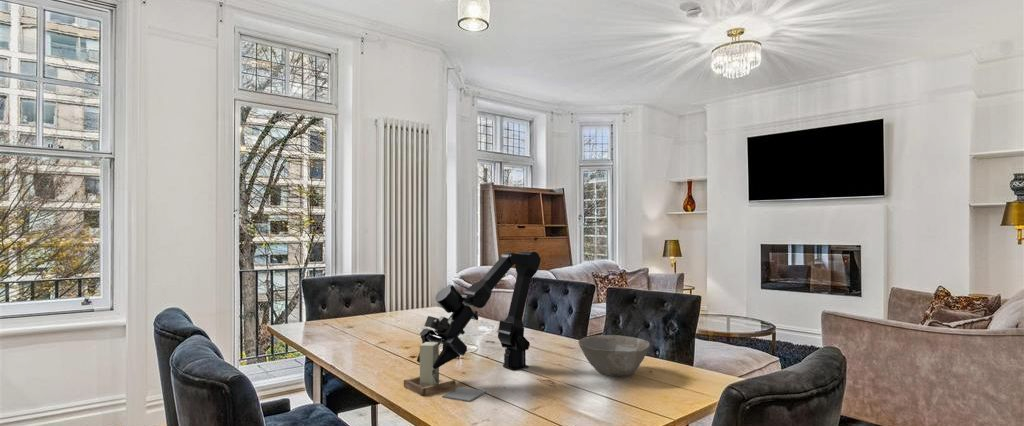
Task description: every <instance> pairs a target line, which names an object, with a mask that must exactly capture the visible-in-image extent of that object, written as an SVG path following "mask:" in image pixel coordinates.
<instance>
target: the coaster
mask: <svg viewBox="0 0 1024 426" xmlns="http://www.w3.org/2000/svg"><path fill="white" fill-rule="evenodd" d="M486 393H487V390H483V389H475V388H469V387H463V386H458V387H457V388H453V390H452V389H451V390H450V391H448V392H446V393H445V394H443V395H441V398H444V399H450V400H457V401H462V402H468V403H470V402H472V401H474V400H475V399H478V398H479V397H481V396H483V395H485V394H486Z"/></svg>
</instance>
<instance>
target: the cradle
mask: <svg viewBox="0 0 1024 426" xmlns="http://www.w3.org/2000/svg"><path fill="white" fill-rule="evenodd" d="M456 383H457V382H456V380H449V381H445V382H439V384H436V385H431V386H427V387H422V386H420V376H417V377H413V378H412V377H411V378H408V379H404V380H403V388H404V389H407V390H409V391H411V392H414V393H415V394H417V395H419V396H422V397H425V396H428V395H432V394H437V393H441V392H445V391H449V390H452V389H453V390H454V389H456V386H457V385H456Z"/></svg>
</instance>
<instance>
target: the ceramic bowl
mask: <svg viewBox="0 0 1024 426" xmlns="http://www.w3.org/2000/svg"><path fill="white" fill-rule="evenodd" d="M577 342H578V345H579V348H580V350H581V351H582V353H583V354H584V356H585V359H586V360H587V361H588V363H589V364H590V365H591V367H593V368H594V370H595V371H597V372H598V373H600V374H602V375H606V376H613V377H629V376H631V375H633V374H635V372H636V371H637V370H638V369H639V367H640V365H641V364H642V362H643V361H644V359H645V357H646V355H647V354H648V350H649V349H650V345H651V344H650V342H649V341H648V340H646V339H642V338H638V337H634V336H626V335H619V334H618V335H617V334H616V335H615V334H608V335H607V334H603V335H601V334H597V335H591V336H586V337H582V338H581V339H578V341H577Z"/></svg>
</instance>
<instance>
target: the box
mask: <svg viewBox="0 0 1024 426" xmlns="http://www.w3.org/2000/svg"><path fill="white" fill-rule="evenodd" d="M439 348H440V345H439V343H438V342H425V343H423V344H422V343H421V344H420V345H419V353H420V363H419V377H420V384H419V385H420V386H422V387H427V386H431V385H436V384H440V367H438V368H437V369H434V368H433V365H434V363H435V361H436V360H437V358H438V356H439V355H440V350H439Z"/></svg>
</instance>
